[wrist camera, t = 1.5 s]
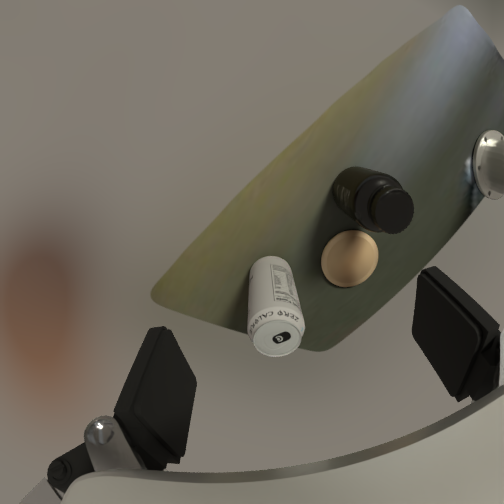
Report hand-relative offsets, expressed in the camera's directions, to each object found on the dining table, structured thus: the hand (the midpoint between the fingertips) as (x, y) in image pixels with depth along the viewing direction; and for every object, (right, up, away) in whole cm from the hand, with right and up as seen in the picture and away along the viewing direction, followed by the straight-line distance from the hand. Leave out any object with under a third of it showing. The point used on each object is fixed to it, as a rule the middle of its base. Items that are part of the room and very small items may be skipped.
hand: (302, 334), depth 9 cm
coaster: (+13, +2, +30) cm, 33 cm away
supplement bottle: (+12, +11, +26) cm, 31 cm away
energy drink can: (+1, 0, +31) cm, 31 cm away
